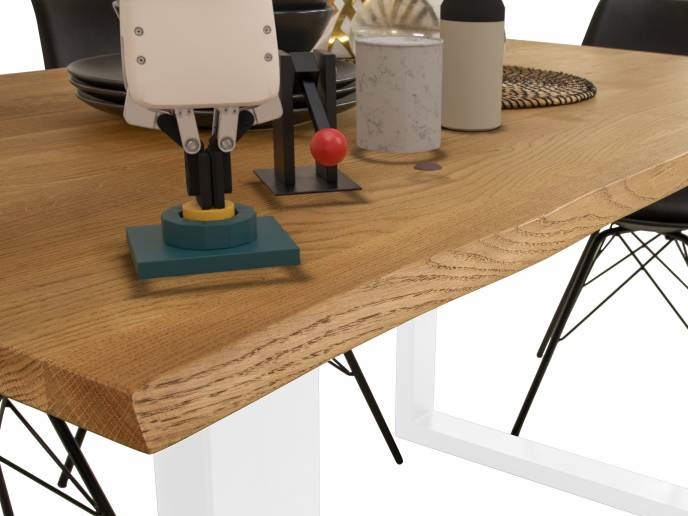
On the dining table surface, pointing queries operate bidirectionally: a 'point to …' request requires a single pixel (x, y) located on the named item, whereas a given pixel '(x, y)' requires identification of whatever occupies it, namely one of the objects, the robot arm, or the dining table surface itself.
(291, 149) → the bracket
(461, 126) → the travel mug
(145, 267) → the control block
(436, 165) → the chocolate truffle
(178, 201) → the dining table surface
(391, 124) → the white marbled canister
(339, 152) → the lever
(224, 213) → the button
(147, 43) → the robot arm
